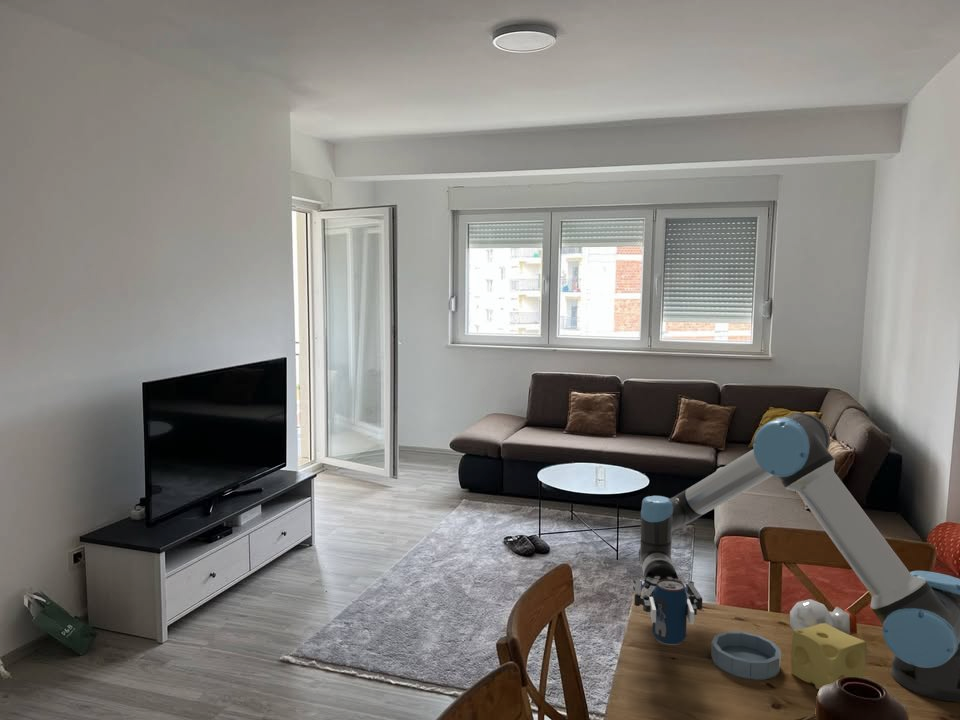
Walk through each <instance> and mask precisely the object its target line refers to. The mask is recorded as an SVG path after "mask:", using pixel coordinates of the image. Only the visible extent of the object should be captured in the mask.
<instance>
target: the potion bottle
mask: <svg viewBox="0 0 960 720" xmlns="http://www.w3.org/2000/svg"><path fill="white" fill-rule="evenodd" d="M789 619H790V620H789V624H790V625H789V626H790V627H791V629H792V630H793V631H794V630H799V629H804V628H808V627H812V626H815V625H818V624H823V623H826V624H828V625H830V626H832V627H834V628H836V629H838V630H840V631H842V632H844V633H846V634H849V635H851V636H853V635H857V634H858V629H857V628H858V626H857V625H858V623H857V616H856V615H855V614H854V613H852V611H849V610H847V609H846V608H843V609H842V608H840V607H838V606H835V607H834V610H833V611H829V610H828V608H827V606H825V604H824V603H821V602H819V601H816V600H814V599H811V598H810V599H805V600H801V601H798V602H796V603H795V604H794V605H793V606H792V608H791V610H790V611H789Z"/></svg>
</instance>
